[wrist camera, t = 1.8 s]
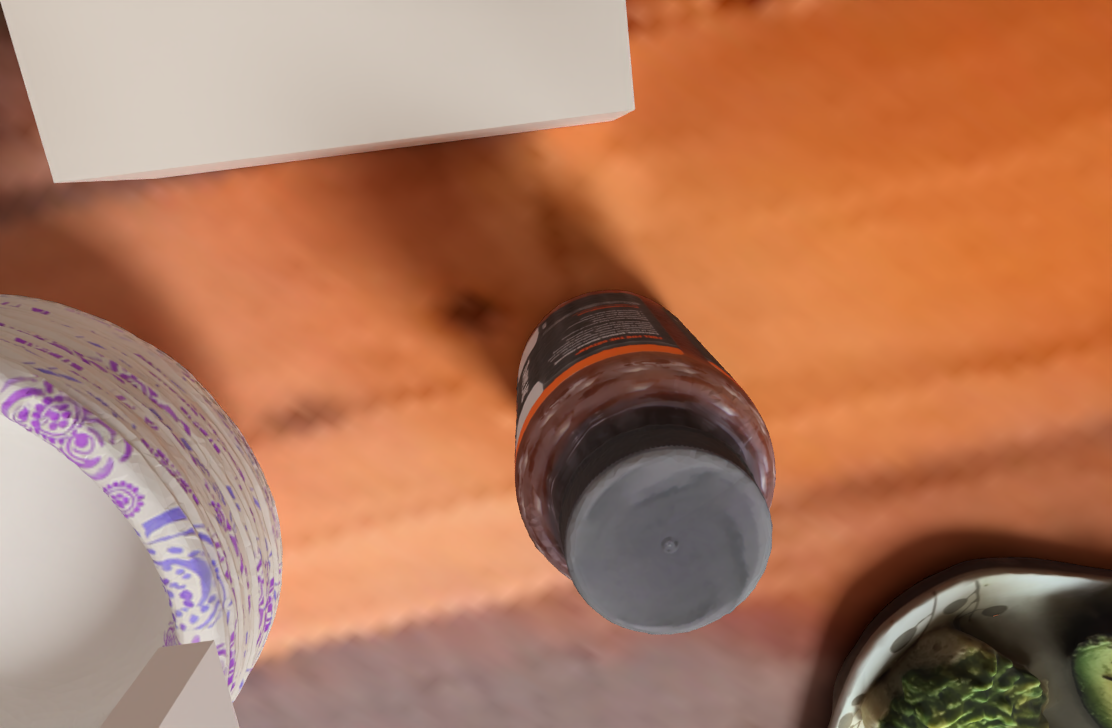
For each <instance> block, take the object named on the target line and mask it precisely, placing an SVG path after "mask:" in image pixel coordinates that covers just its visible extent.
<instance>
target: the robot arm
mask: <svg viewBox="0 0 1112 728" xmlns="http://www.w3.org/2000/svg"><path fill="white" fill-rule="evenodd" d="M100 728H239V724H238V721H237V717H236V714H235V711H234V707H233V704H232V700H231V697H230V693H229V690H228V686H227V683H226V679H225V676H224V672H223V669H222V666H221V662H220V659H219V655H218V652H217V648H216V645H215V641H214V640H211V641H204V642H197V643H189V644H182V645H174V646H167V647H159V648H158V649H157V651H156V652H155V653H154V655H153V656H152V657H151V659H150V660H149V661H148V663H147V664H146V665H145V667H144V668H143V670H142V671H141V672H140V674H139V675H138V676H137V678H136V679H135V680H134V682H133V683H132V684H131V686H130V687H129V688H128V690H127V691H126V693H125V694H124V695H123V697H122V698H121V699H120V701H119V702H118V703H117V705H116V706H115V707H114V709H113V710H112V711H111V713H110V714H109V716H108V717H107V718H106V720H105V721H104V722H103V724H102V725H101V726H100Z"/></svg>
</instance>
